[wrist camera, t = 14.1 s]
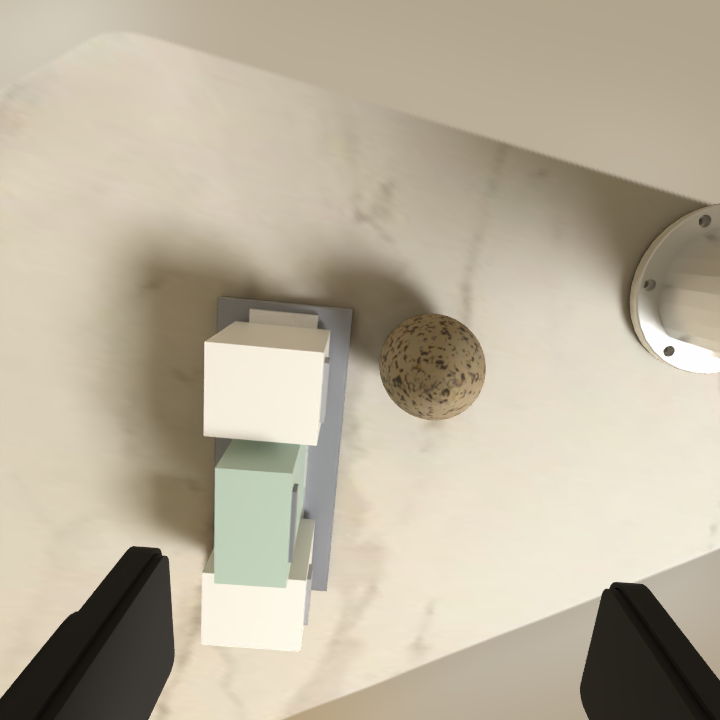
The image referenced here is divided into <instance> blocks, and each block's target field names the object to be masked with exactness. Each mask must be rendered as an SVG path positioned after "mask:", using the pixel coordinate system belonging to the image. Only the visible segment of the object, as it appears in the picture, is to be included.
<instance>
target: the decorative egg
mask: <svg viewBox="0 0 720 720" xmlns="http://www.w3.org/2000/svg"><path fill="white" fill-rule="evenodd" d="M485 370H486V365H485V358H484V354H483V350H482V348H481V346H480V344H479V342H478V340H477V338H476V337H475V336H474V334H473V333H472V332H471V331H470V330H469V329H468V328H467V327H466V326H465V325H463V324H462V323H460V322H459V321H457V320H455V319H453V318H451V317H448V316H444V315H440V314H422V315H418V316H414V317H411V318H409V319H407V320H405V321H404V322H402V323H401V324H399V325H398V326H397V327H396V328H395V329H394V330H393V331H392V332H391V333H390V335H389V336H388V338H387V339H386V341H385V343H384V345H383V348H382V351H381V356H380V375H381V379H382V382H383V385H384V387H385V389H386V391H387V393H388V395H389V396H390V398H391V399H392V400H393V401H394V402H395V404H397V405H398V406H399V407H400V408H401V409H403V410H404V411H406V412H407V413H409V414H411V415H413V416H416V417H419V418H422V419H427V420H442V419H448V418H451V417H454V416H456V415H458V414H460V413H461V412H463V411H464V410H466V409H467V408H468V407H469V406H470V405H471V404H472V403H473V402H474V401H475V399H476V398H477V397H478V395H479V393H480V391H481V389H482V386H483V383H484V379H485Z"/></svg>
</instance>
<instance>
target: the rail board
mask: <svg viewBox="0 0 720 720" xmlns="http://www.w3.org/2000/svg"><path fill="white" fill-rule="evenodd" d="M352 313H353V309H349V308H339V307H328V306H318V305H307V304H297V303H286V302H276V301H265V300H255V299H244V298H234V297H223V296H221V297H219V298H218V308H217V334H215V335H214V336H212V337H211V338H209V339H208V340H206V341H205V344H204V436H208V437H215V467H216V466H217V464H218V462H219V461H220V459H221V458H222V456H223V454H224V453H225V451H226V450H227V448H228V446H229V445H230V443H231V442H232V440H233V439H243V440H255V441H266V442H278V443H290V444H301V445H306V460H305V476H304V492H303V507H302V512H301V517H300V522H299V527H298V532H297V537H296V542H295V550H294V557H293V562H292V563H291V566H290V571H289V576H288V581H287V586H286V588H274V587H260V586H245V585H230V584H215V583H214V537H213V551H212V553H211V555H210V557H209V559H208V561H207V563H206V566H205V568H204V570H203V572H202V631H201V645H215V646H229V647H243V648H257V649H271V650H285V651H299V652H300V650H301V643H302V636H303V629H304V625H308V617H309V609H310V597H311V590H318V591H327V581H328V570H329V560H330V549H331V538H332V528H333V517H334V506H335V495H336V485H337V474H338V463H339V452H340V442H341V431H342V420H343V409H344V399H345V388H346V377H347V367H348V356H349V345H350V334H351V324H352ZM214 533H215V480H214Z"/></svg>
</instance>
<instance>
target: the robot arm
mask: <svg viewBox="0 0 720 720" xmlns="http://www.w3.org/2000/svg"><path fill="white" fill-rule="evenodd" d="M644 283H645V285H644ZM629 303H630V314H631V320H632V323H633V327H634V330H635V333H636V334H637V336H638V338H639V340H640V341H641V343H642V345H643V346H644V347H645V348H646V349H647V350H648V351H649V352H650V353H651V355H653V356H654V357H656V358H657V359H659V360H660V361H661V362H663V363H665V364H668V365H670V366H672V367H674V368H677V369H680V370H684V371H687V372H691V373H702V374H709V373H720V204H714V205H711V206H707V207H704V208H700V209H697V210H695V211H693V212H691V213H689V214H687V215H685V216H683V217H681V218H680V219H678V220H677V221H676V222H674V223H673V224H671V225H670V226H669V227H667V228H666V229H665V230H664V231H663V232H662V233H661V234H660V235H659V236H658V237H657V238H656V239H655V240H654V241H653V243H652V244H651V245H650V247H649V248H648V250H647V251H646V252H645V254H644V255H643V257H642V259H641V261H640V263H639V265H638V267H637V269H636V272H635V275H634V279H633V282H632V286H631V293H630V302H629ZM174 654H175V652H174V635H173V619H172V603H171V587H170V571H169V559H168V557H167V556H162V553H161V550H160V549H159V548H150V547H136V546H133V547H130V548H129V549H128V550H127V551H126V552H125V554H124V555H123V556H122V557H121V559H120V560H119V561H118V562H117V564H116V565H115V566H114V567H113V569H112V570H111V571H110V572H109V574H108V575H107V576H106V578H105V579H104V580H103V581H102V583H101V584H100V585H99V586H98V588H97V589H96V590H95V591H94V593H93V594H92V595H91V596H90V598H89V599H88V600H87V601H86V603H85V604H84V605H83V606H82V608H81V609H80V610H79V611H78V612H75V613H73V614H71V615H70V616H69V617H68V618H67V619H66V620H65V621H64V622H63V623H62V624H61V625H60V626H59V628H58V629H57V630H56V631H55V633H54V634H53V635H52V636H51V637H50V639H49V640H48V641H47V642H46V644H45V645H44V646H43V647H42V648H41V650H40V651H39V652H38V653H37V655H36V656H35V657H34V658H33V659H32V661H31V662H30V663H29V664H28V666H27V667H26V668H25V669H24V670H23V672H22V673H21V674H20V675H19V677H18V678H17V679H16V680H15V681H14V683H13V684H12V685H11V686H10V688H9V689H8V690H7V691H6V692H5V694H4V695H3V696H2V697H1V699H0V720H148V719H149V717H150V715H151V713H152V711H153V709H154V706H155V704H156V702H157V700H158V698H159V696H160V694H161V692H162V690H163V687H164V685H165V683H166V681H167V679H168V677H169V675H170V672H171V670H172V666H173V662H174ZM580 694H581V700H582V704H583V707H584V709H585V712H586V714H587V716H588V718H589V720H720V680H719V679H718V678H717V677H716V675H715V674H714V673H713V671H712V670H711V669H710V667H709V666H708V665H707V664H706V662H705V661H704V660H703V658H702V657H701V656H700V654H699V653H698V652H697V651H696V649H695V648H694V647H693V645H692V644H691V643H690V642H689V640H688V639H687V638H686V636H685V635H684V634H683V633H682V631H681V630H680V629H679V627H678V626H677V625H676V623H675V622H674V621H673V620H672V618H671V617H670V616H669V614H668V613H667V612H666V610H665V609H664V608H663V607H662V605H661V604H660V603H659V601H658V600H657V599H656V598H655V596H654V595H653V594H652V592H651V591H650V590H649V589H648V588H647V587H646V586H645V585H643V584H635V583H622V582H614V583H612V584H611V586H610V589H605V590H604V591H603V593H602V596H601V601H600V605H599V609H598V614H597V617H596V622H595V626H594V630H593V634H592V638H591V643H590V647H589V651H588V656H587V660H586V664H585V668H584V672H583V676H582V681H581V686H580Z"/></svg>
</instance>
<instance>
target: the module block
mask: <svg viewBox="0 0 720 720" xmlns="http://www.w3.org/2000/svg"><path fill="white" fill-rule="evenodd" d="M305 460H306V445H301V444H290V443H278V442H266V441H255V440H243V439H233V440H232V442H231V443H230V445H229V446H228V448H227V450H226V451H225V453H224V454H223V456H222V458H221V459H220V461H219V462H218V464H217V466H216V467H215V533H214V583H215V584H230V585H245V586H260V587H274V588H286V586H287V581H288V576H289V571H290V566H291V563H292V562H293V557H294V550H295V542H296V537H297V532H298V527H299V522H300V517H301V512H302V507H303V492H304V476H305Z"/></svg>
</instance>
